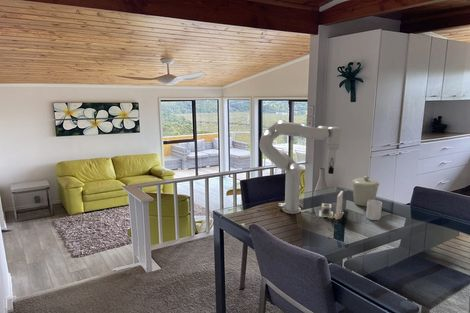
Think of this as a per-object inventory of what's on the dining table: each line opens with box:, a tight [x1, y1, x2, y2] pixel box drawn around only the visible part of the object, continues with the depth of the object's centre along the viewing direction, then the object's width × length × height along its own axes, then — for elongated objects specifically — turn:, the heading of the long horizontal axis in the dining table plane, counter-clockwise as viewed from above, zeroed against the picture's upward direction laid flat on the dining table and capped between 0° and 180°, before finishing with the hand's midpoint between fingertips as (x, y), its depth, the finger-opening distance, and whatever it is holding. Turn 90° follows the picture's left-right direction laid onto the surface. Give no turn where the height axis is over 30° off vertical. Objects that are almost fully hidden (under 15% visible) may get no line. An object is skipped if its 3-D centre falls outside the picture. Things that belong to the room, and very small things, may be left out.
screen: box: [332, 190, 345, 220], centre depth 219 cm, size 4×11×16 cm, turn 150°
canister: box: [351, 175, 380, 208], centre depth 238 cm, size 18×18×21 cm
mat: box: [318, 209, 334, 219], centre depth 223 cm, size 9×9×1 cm
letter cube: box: [321, 202, 332, 216], centre depth 222 cm, size 6×6×6 cm
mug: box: [365, 199, 383, 221], centre depth 218 cm, size 12×9×11 cm
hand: (330, 171), depth 219 cm, fingers open, 9 cm apart
